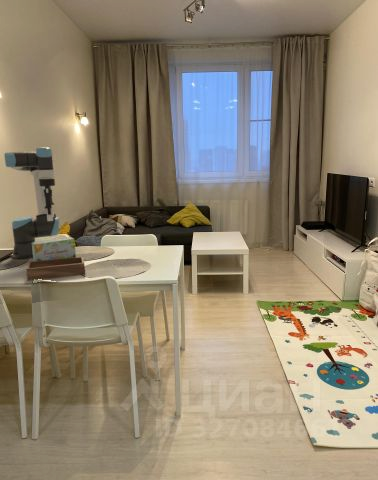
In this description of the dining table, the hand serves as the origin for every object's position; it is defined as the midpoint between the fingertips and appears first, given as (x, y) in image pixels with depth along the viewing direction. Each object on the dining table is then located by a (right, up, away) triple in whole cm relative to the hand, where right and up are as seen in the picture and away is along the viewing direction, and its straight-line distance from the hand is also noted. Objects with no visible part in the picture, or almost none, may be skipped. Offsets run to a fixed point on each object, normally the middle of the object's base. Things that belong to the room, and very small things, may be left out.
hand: (50, 219), depth 193 cm
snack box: (+1, -26, +6) cm, 27 cm away
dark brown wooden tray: (+6, -28, -6) cm, 29 cm away
